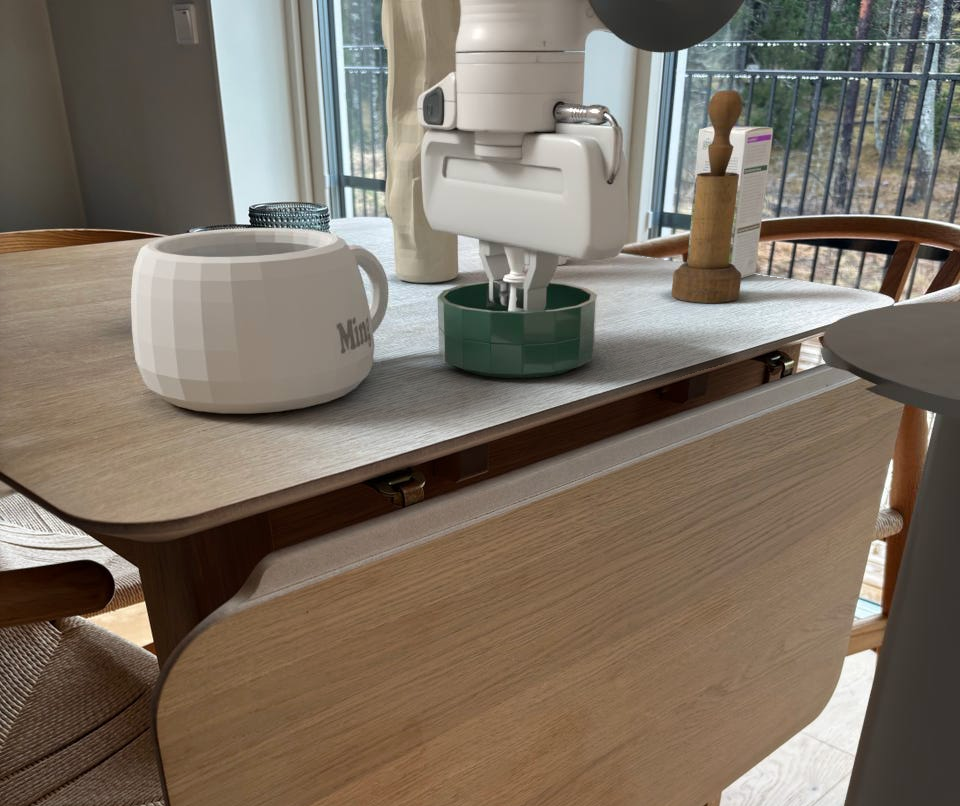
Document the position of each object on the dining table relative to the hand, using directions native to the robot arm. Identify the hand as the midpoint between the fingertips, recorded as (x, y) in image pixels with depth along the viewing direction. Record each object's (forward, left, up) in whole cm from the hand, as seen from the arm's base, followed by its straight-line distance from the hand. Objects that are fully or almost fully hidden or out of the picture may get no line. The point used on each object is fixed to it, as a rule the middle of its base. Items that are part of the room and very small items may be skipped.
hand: (516, 307), depth 75 cm
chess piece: (0, 0, -4) cm, 4 cm away
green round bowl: (0, 0, -4) cm, 4 cm away
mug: (+6, +17, -4) cm, 18 cm away
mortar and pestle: (+8, -30, -4) cm, 31 cm away
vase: (+33, -13, -4) cm, 36 cm away
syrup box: (+15, -40, -4) cm, 43 cm away
